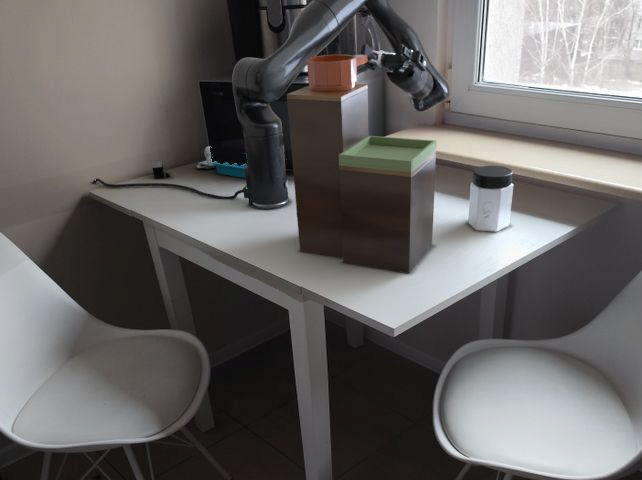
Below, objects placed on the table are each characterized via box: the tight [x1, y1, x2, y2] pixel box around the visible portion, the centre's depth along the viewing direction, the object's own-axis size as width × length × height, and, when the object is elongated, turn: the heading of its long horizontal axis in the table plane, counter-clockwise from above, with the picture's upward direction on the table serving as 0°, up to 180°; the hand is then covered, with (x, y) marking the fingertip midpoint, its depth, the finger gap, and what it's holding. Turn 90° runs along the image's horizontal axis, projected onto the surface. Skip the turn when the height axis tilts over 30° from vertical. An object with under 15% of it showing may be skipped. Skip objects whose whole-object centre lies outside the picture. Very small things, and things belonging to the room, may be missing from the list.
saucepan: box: [306, 54, 368, 92], centre depth 119 cm, size 18×9×5 cm, turn 154°
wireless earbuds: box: [151, 160, 172, 179], centre depth 179 cm, size 5×7×3 cm, turn 14°
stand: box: [286, 83, 437, 274], centre depth 120 cm, size 14×25×31 cm, turn 64°
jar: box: [467, 165, 514, 232], centre depth 134 cm, size 9×8×12 cm
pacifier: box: [196, 145, 216, 170], centre depth 183 cm, size 7×6×6 cm
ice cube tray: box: [212, 161, 247, 179], centre depth 178 cm, size 12×20×3 cm, turn 58°
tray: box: [339, 135, 437, 172], centre depth 116 cm, size 14×14×2 cm
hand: (381, 48), depth 133 cm, fingers open, 8 cm apart
